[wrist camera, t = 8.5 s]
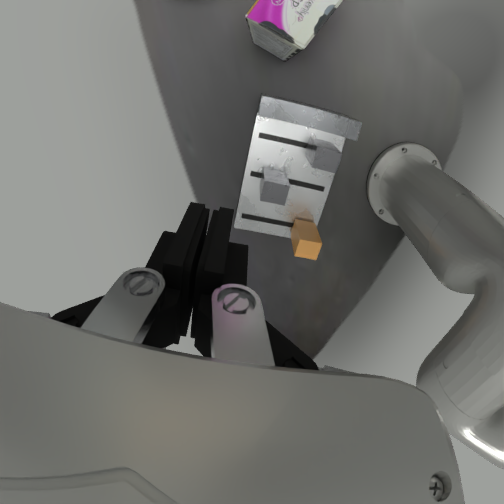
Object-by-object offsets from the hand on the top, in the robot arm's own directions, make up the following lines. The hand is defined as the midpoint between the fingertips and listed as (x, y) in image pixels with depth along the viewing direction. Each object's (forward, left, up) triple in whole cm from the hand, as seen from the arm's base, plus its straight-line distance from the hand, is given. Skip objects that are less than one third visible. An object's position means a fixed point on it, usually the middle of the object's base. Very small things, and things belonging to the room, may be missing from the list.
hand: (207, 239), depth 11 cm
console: (-7, +4, -27) cm, 28 cm away
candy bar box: (-3, -15, -27) cm, 31 cm away
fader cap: (-11, +11, -25) cm, 29 cm away
